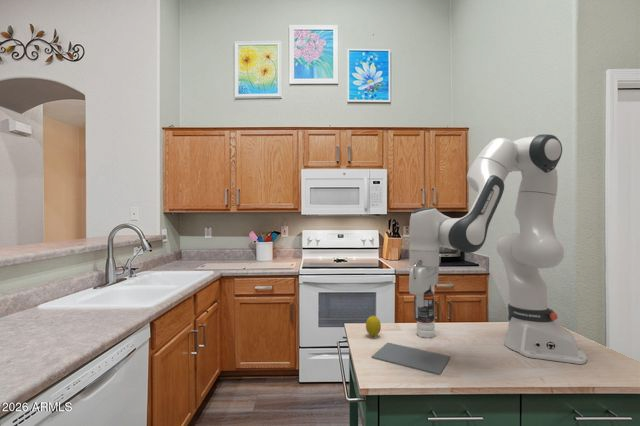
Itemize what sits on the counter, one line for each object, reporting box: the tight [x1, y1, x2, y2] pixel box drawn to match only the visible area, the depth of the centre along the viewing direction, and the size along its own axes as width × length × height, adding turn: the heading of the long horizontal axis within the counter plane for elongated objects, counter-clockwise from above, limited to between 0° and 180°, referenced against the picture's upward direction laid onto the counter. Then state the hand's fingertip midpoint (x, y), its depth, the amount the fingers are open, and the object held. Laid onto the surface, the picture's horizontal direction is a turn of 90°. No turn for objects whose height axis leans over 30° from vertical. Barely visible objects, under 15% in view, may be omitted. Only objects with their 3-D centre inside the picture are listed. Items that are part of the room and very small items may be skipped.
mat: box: [371, 342, 451, 376], centre depth 103 cm, size 21×14×1 cm, turn 57°
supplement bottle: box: [413, 285, 435, 323], centre depth 100 cm, size 6×6×11 cm
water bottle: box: [416, 286, 436, 339], centre depth 123 cm, size 9×6×25 cm
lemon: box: [365, 314, 382, 338], centre depth 121 cm, size 6×6×8 cm
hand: (424, 303), depth 100 cm, fingers closed on supplement bottle, 6 cm apart
